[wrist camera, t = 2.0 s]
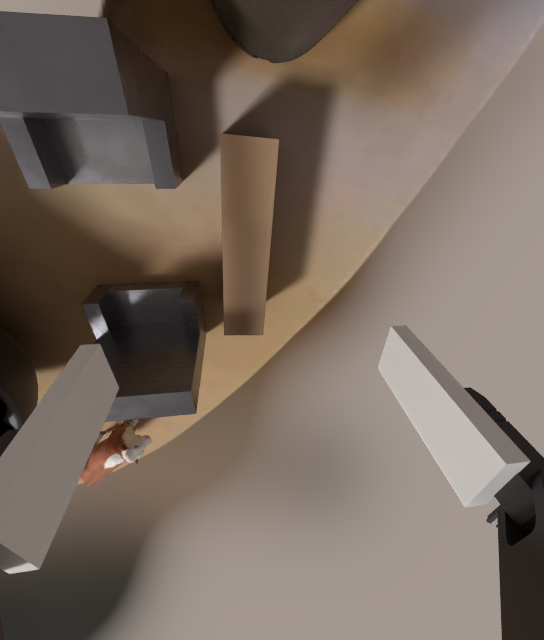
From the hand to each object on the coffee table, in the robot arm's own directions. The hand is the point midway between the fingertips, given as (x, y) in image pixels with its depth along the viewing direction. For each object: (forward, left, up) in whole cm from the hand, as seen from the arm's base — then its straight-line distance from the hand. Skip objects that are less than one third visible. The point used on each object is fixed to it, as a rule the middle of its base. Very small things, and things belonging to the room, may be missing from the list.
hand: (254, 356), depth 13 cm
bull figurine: (+19, +28, -19) cm, 39 cm away
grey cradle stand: (+10, 0, -18) cm, 21 cm away
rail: (0, 0, -19) cm, 19 cm away
